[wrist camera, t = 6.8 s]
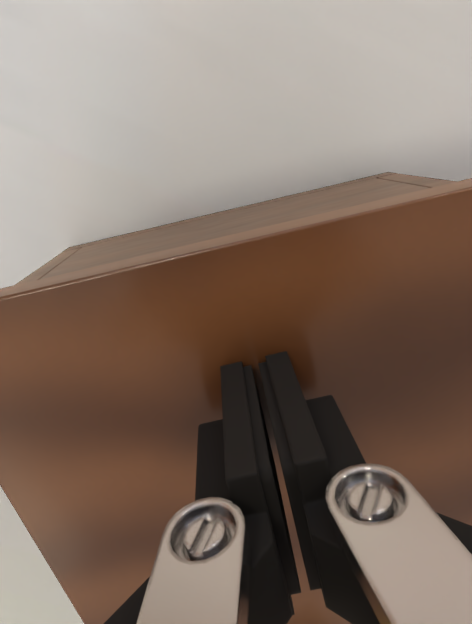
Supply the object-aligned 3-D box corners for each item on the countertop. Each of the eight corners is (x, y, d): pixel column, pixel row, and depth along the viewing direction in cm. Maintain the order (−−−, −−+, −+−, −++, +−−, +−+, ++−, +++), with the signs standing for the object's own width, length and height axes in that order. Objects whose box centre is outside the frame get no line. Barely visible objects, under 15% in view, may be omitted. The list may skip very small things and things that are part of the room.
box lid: (-79, 306, 10) (-102, 321, 9) (556, 157, 10) (586, 160, 9) (147, 700, 17) (145, 725, 17) (517, 626, 17) (531, 649, 16)
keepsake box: (67, 247, 20) (-38, 319, 11) (388, 171, 19) (522, 188, 11) (169, 520, 26) (148, 699, 17) (416, 467, 25) (516, 625, 17)
